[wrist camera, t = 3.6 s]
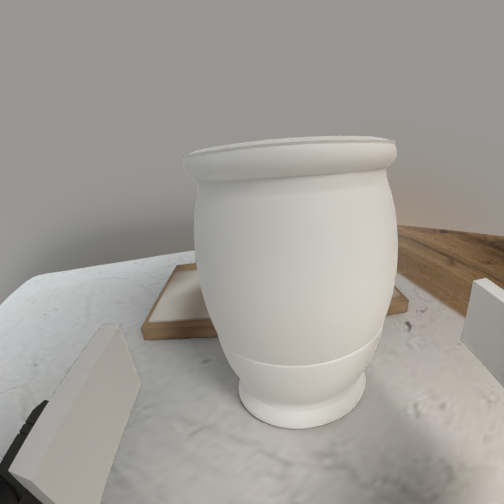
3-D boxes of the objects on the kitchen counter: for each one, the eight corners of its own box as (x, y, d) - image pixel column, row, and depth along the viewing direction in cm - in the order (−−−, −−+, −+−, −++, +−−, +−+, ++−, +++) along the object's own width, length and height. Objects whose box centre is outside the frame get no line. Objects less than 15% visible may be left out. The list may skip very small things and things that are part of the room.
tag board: (355, 255, 41) (354, 225, 39) (407, 311, 26) (411, 269, 24) (178, 273, 41) (173, 243, 40) (144, 339, 26) (132, 298, 25)
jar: (296, 326, 26) (283, 144, 21) (405, 368, 19) (423, 139, 14) (193, 389, 20) (144, 159, 15) (310, 476, 12) (306, 132, 7)
